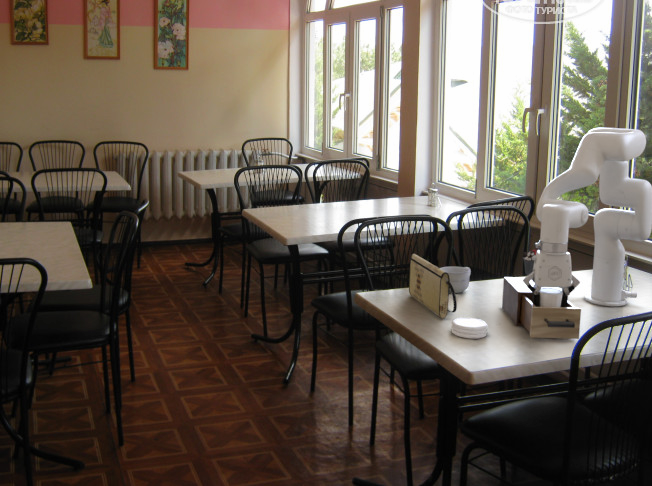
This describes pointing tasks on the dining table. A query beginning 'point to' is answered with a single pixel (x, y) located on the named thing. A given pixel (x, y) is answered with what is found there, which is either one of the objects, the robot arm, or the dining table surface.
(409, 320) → the dining table surface
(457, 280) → the teacup
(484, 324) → the white round disc
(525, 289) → the cabinet
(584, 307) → the dining table surface
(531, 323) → the drawer
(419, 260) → the clutch purse
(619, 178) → the robot arm
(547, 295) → the white cylinder
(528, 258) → the sundae
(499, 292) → the dining table surface
